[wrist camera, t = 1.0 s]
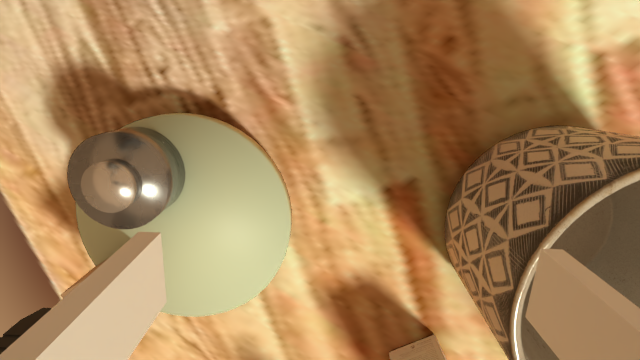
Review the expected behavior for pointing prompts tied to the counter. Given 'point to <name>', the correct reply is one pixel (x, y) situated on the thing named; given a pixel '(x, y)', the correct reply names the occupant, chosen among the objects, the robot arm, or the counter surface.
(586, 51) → the counter surface
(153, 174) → the cover
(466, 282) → the planter
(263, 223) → the turntable
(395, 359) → the small box
